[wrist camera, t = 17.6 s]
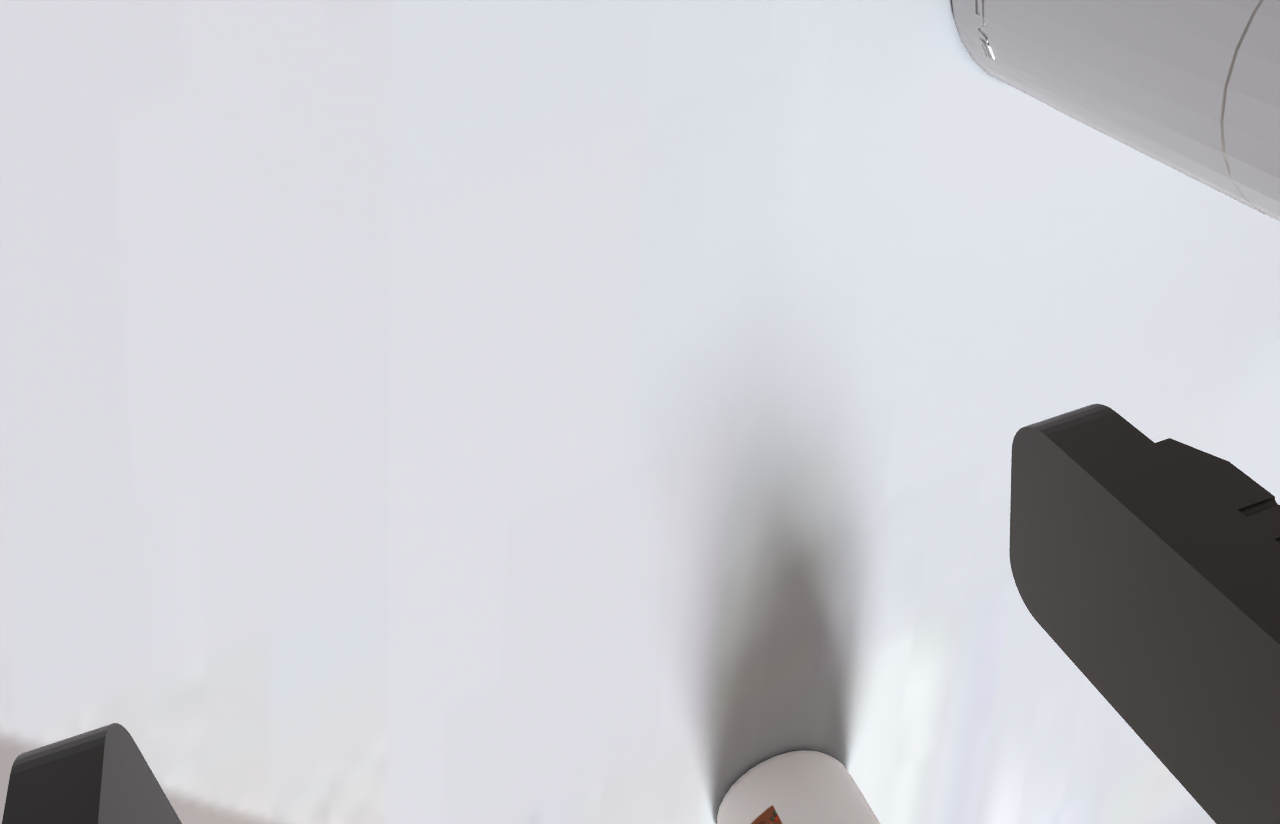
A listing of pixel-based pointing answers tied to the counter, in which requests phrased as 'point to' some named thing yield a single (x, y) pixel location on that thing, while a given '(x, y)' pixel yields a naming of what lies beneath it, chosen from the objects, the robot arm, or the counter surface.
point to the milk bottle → (796, 793)
